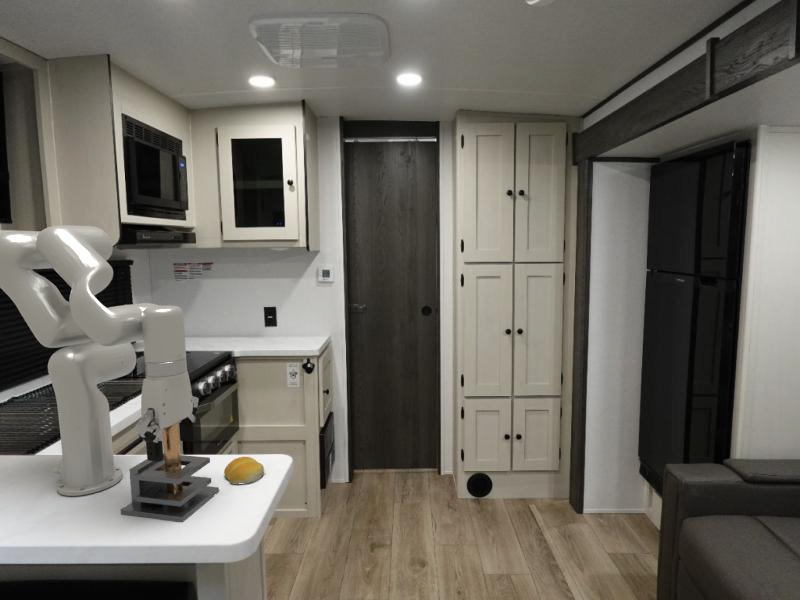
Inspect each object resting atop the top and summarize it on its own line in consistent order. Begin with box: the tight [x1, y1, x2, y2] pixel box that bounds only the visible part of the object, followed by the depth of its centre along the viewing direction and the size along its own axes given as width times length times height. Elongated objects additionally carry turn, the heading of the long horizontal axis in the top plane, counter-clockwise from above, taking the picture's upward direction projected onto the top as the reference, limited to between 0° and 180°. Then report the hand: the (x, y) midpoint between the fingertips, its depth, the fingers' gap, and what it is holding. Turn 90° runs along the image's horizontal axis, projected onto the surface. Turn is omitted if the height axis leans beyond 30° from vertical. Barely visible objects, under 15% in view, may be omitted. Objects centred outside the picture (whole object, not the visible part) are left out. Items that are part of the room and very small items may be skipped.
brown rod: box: [162, 422, 183, 494], centre depth 102 cm, size 3×3×20 cm
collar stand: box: [120, 452, 220, 523], centre depth 103 cm, size 14×12×8 cm
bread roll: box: [223, 456, 265, 485], centre depth 114 cm, size 8×9×4 cm
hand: (172, 450), depth 102 cm, fingers open, 9 cm apart
